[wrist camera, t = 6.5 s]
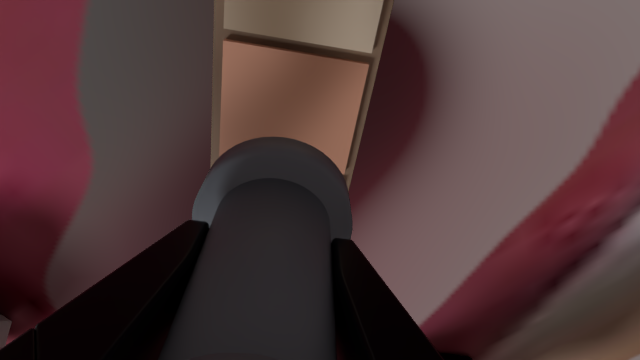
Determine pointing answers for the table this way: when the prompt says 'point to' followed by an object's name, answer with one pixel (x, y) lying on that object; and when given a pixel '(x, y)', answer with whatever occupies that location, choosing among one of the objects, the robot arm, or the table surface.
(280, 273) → the pawn
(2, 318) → the die
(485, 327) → the table surface
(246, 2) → the track
